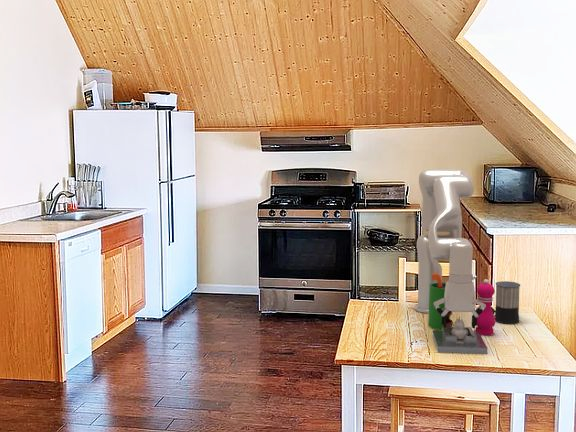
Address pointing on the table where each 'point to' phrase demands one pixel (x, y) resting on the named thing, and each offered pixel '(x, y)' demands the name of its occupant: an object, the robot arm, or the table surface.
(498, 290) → the milk frother
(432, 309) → the green round disc holder
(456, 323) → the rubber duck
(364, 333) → the table surface
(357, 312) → the table surface
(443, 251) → the robot arm
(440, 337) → the plate
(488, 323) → the pepper mill
